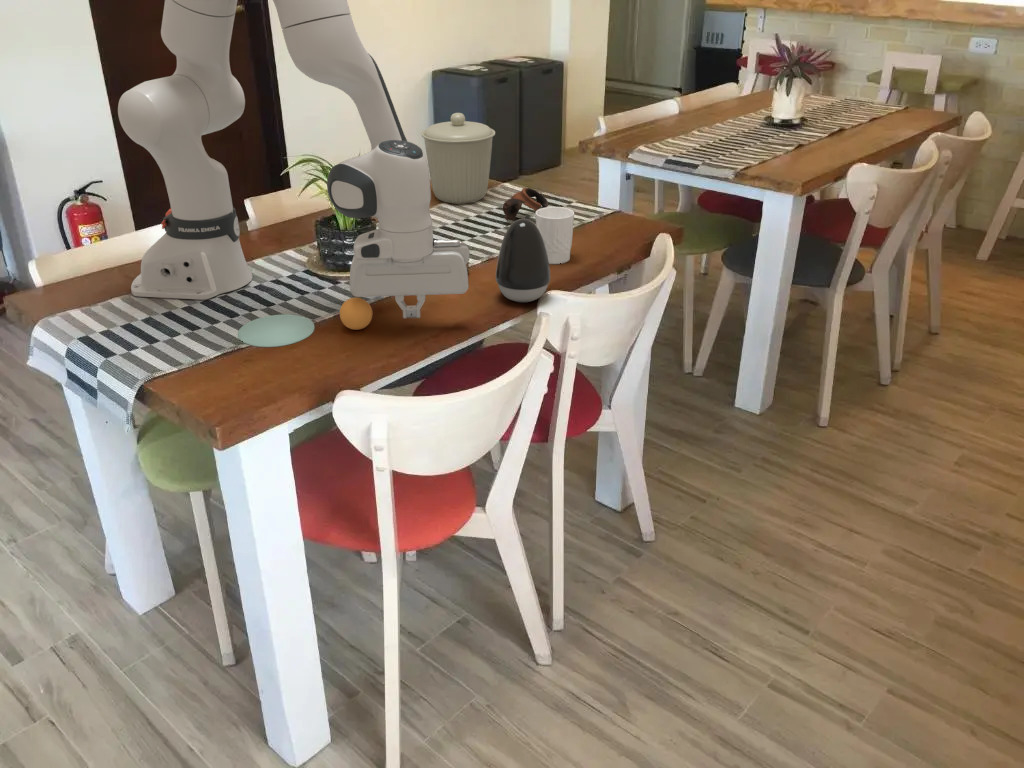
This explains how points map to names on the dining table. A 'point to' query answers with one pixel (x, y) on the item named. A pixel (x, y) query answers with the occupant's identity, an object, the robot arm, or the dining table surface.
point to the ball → (355, 313)
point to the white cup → (556, 232)
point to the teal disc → (276, 330)
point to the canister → (459, 159)
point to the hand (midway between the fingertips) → (411, 316)
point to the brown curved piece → (524, 196)
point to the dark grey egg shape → (523, 262)
